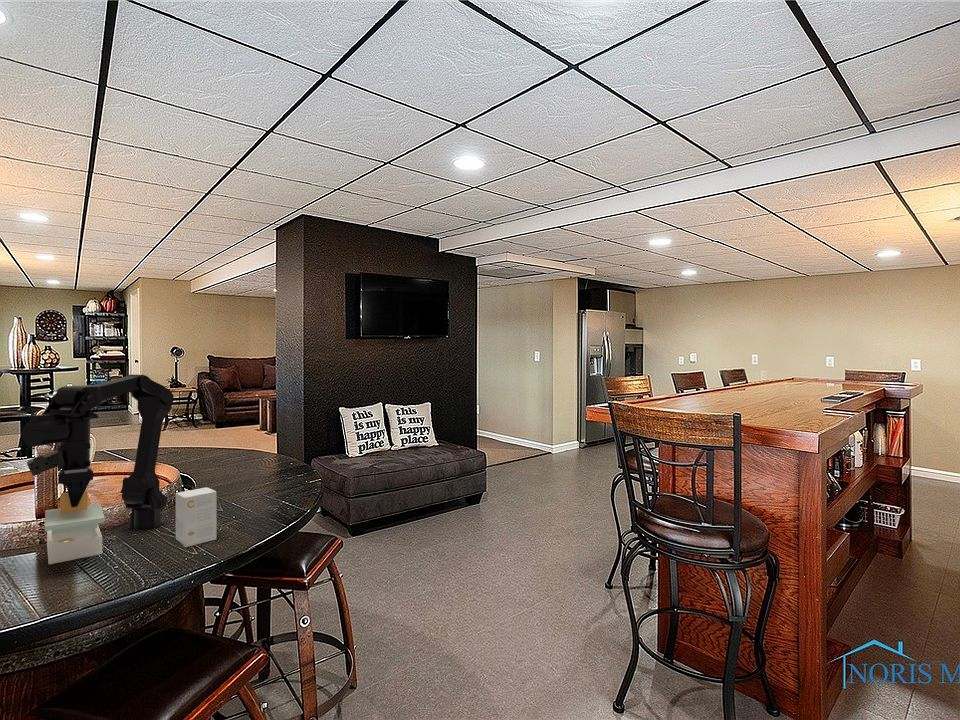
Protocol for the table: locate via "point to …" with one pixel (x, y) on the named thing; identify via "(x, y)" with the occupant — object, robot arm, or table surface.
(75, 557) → the tub
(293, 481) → the table surface
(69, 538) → the brass part
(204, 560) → the table surface
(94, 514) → the lid
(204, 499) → the small box
